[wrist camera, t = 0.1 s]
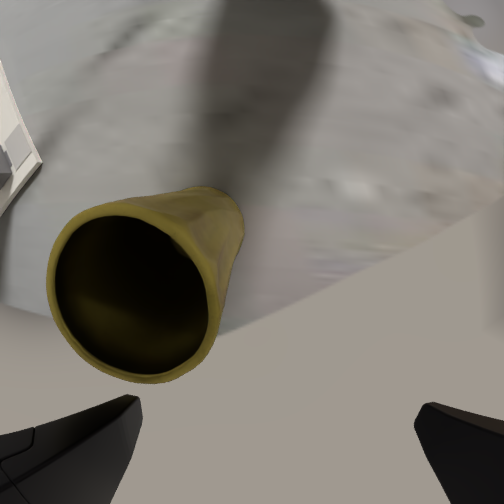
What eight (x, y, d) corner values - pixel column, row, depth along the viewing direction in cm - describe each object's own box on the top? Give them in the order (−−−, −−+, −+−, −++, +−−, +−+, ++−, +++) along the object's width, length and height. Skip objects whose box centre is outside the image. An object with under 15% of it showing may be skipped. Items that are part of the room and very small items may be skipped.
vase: (246, 268, 22) (246, 398, 8) (164, 273, 22) (65, 387, 8) (241, 183, 20) (229, 169, 6) (156, 190, 20) (19, 201, 6)
